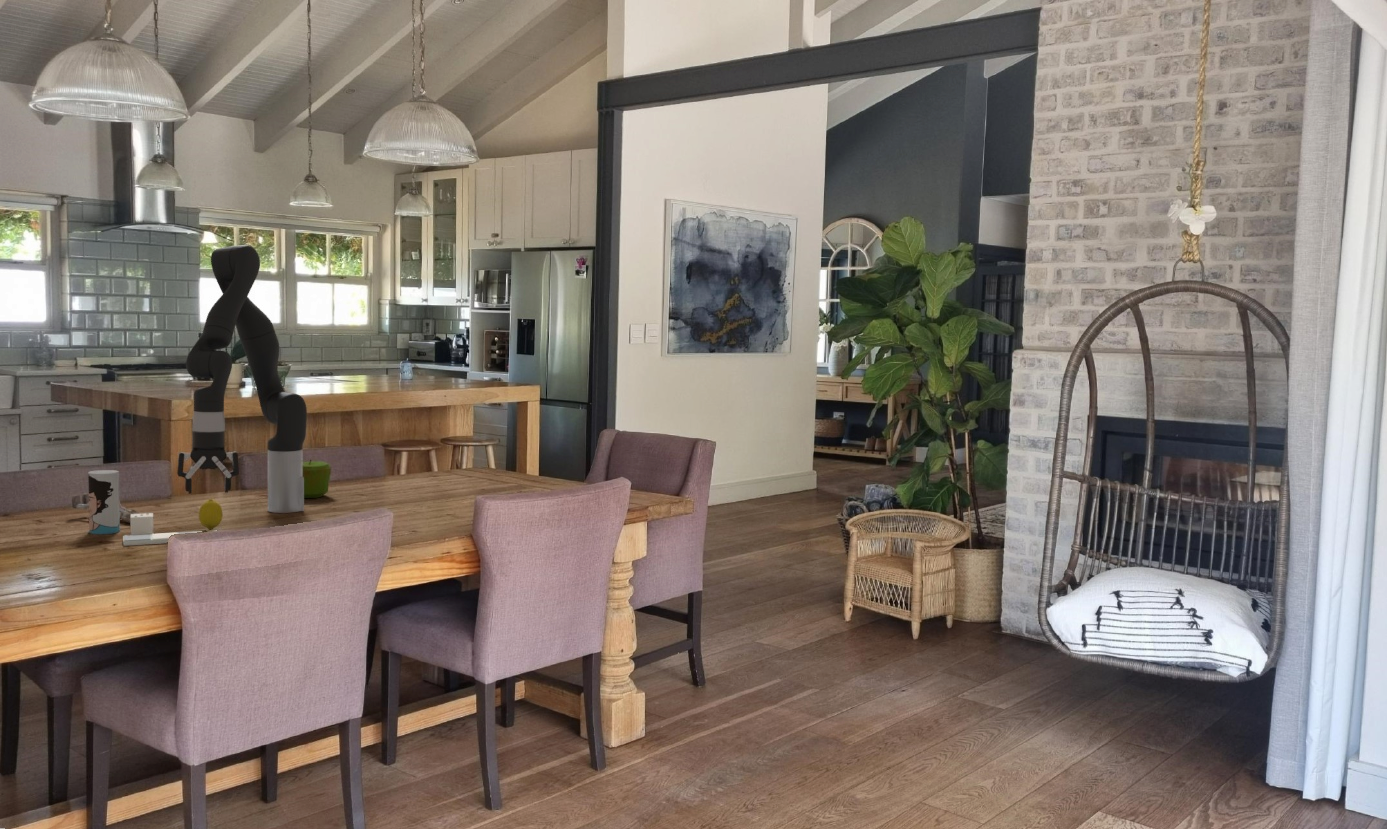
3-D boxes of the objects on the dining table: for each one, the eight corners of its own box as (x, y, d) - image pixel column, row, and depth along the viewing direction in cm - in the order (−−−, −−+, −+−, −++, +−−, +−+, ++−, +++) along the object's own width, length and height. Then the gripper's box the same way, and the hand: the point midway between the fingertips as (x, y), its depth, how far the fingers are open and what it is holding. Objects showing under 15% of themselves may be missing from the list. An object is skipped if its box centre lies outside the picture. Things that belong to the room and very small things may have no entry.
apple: (300, 492, 349) (300, 456, 348) (338, 494, 347) (338, 458, 346) (280, 498, 337) (280, 461, 336) (319, 501, 335) (319, 463, 334)
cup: (106, 527, 287) (105, 469, 285) (125, 530, 284) (125, 471, 283) (83, 532, 280) (82, 472, 279) (103, 535, 278) (102, 474, 277)
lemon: (203, 527, 290) (203, 497, 290) (225, 528, 291) (225, 497, 290) (195, 532, 285) (195, 500, 284) (218, 532, 285) (218, 501, 285)
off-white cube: (153, 532, 283) (153, 512, 283) (153, 536, 279) (153, 515, 278) (130, 533, 281) (130, 513, 281) (129, 537, 276) (129, 516, 276)
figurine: (88, 490, 302) (147, 505, 296) (87, 511, 303) (145, 526, 297) (69, 494, 297) (128, 509, 290) (68, 515, 297) (127, 530, 291)
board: (230, 533, 284) (230, 529, 284) (232, 539, 278) (232, 534, 278) (123, 540, 273) (123, 535, 273) (123, 545, 267) (123, 540, 267)
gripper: (237, 427, 292) (237, 489, 294) (177, 427, 286) (176, 491, 287) (240, 430, 286) (239, 494, 287) (178, 430, 279) (177, 495, 280)
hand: (208, 492), depth 287 cm, fingers open, 8 cm apart
